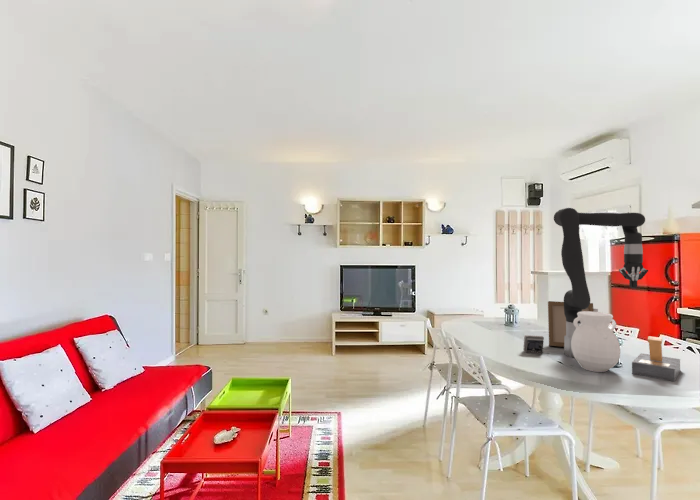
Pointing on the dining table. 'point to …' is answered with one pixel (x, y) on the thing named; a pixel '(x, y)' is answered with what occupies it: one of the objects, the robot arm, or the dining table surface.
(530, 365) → the dining table surface
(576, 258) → the robot arm
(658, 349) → the lever
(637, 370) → the box
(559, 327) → the photo frame
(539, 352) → the electrical switch
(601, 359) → the white ceramic vase
